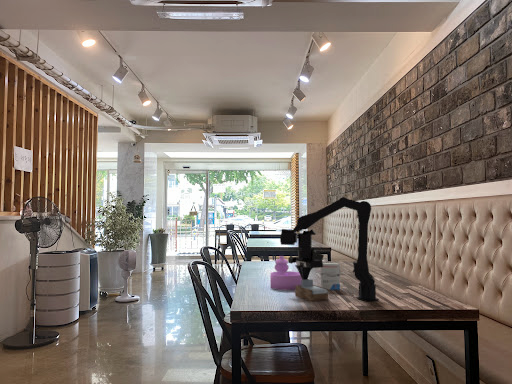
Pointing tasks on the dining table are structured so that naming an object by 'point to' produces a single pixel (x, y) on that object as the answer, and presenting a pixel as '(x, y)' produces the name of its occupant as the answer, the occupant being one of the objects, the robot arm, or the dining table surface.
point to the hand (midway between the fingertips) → (305, 282)
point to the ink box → (330, 276)
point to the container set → (284, 276)
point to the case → (310, 294)
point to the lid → (312, 287)
